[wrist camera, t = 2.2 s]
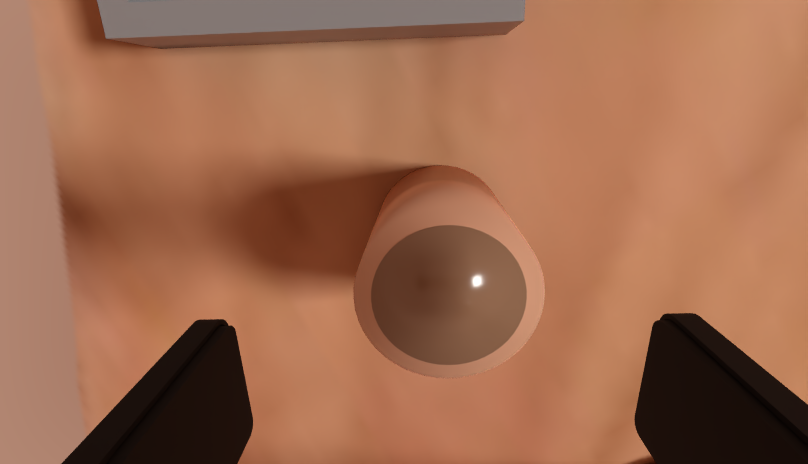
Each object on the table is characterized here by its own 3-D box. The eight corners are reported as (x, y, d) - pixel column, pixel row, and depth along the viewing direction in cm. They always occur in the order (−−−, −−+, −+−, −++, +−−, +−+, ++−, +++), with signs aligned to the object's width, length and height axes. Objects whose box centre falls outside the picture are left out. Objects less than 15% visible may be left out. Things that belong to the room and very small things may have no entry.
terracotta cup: (504, 163, 20) (553, 204, 13) (499, 282, 22) (538, 379, 15) (375, 166, 21) (346, 209, 13) (381, 283, 23) (359, 378, 15)
